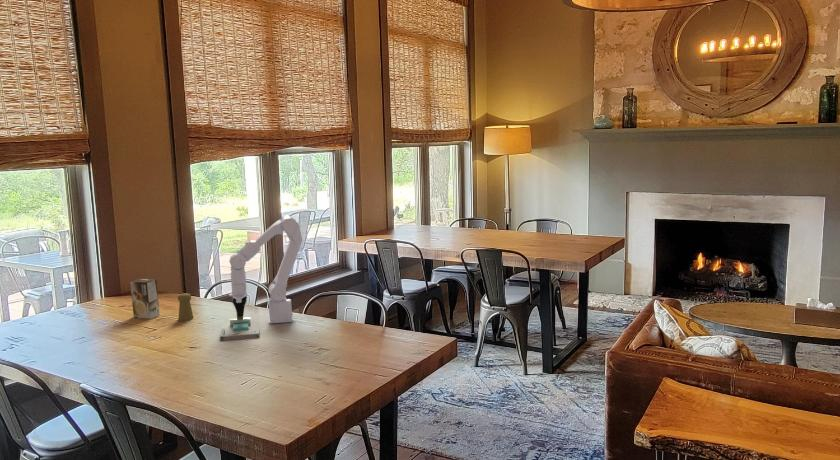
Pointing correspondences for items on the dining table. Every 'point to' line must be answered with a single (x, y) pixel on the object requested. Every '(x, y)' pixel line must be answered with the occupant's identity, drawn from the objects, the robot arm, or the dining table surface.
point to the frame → (238, 335)
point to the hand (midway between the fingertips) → (240, 315)
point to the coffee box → (145, 298)
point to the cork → (185, 307)
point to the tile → (240, 327)
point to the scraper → (240, 320)
